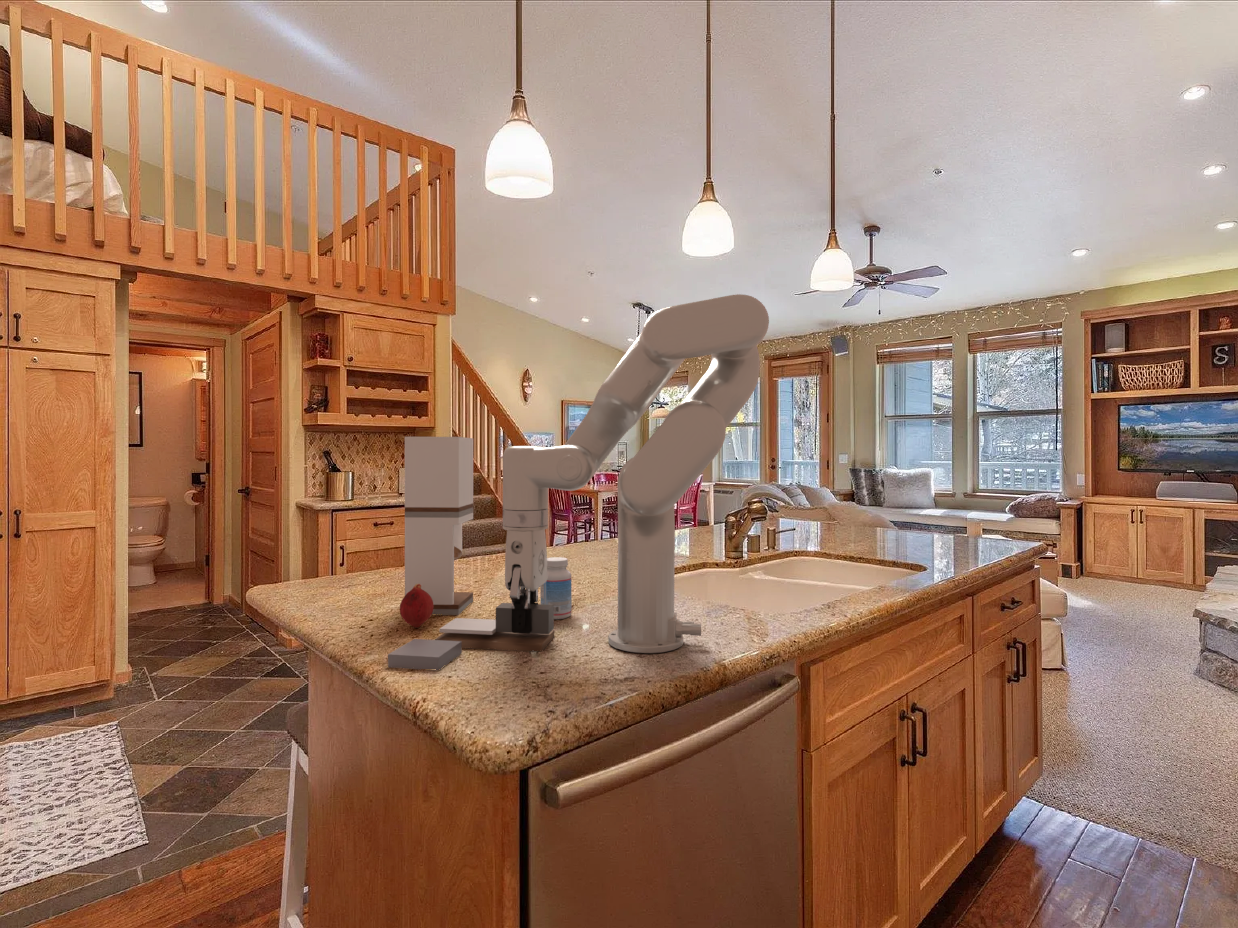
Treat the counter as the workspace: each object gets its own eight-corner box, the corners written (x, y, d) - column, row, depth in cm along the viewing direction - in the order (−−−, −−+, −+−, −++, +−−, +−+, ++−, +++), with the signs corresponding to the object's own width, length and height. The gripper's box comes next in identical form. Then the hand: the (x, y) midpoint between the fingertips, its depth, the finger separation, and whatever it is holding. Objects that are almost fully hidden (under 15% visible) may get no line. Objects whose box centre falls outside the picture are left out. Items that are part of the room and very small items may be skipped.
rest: (554, 636, 110) (554, 629, 110) (541, 651, 101) (541, 644, 101) (455, 632, 112) (455, 625, 112) (434, 646, 104) (434, 639, 104)
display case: (458, 615, 124) (458, 436, 124) (404, 614, 124) (404, 436, 124) (473, 601, 136) (473, 438, 135) (423, 601, 136) (423, 438, 135)
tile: (461, 641, 100) (438, 657, 92) (461, 655, 100) (438, 672, 92) (414, 638, 102) (388, 654, 94) (414, 653, 102) (388, 669, 94)
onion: (423, 633, 111) (423, 587, 111) (393, 631, 113) (393, 586, 112) (439, 624, 117) (439, 581, 117) (410, 622, 118) (410, 580, 118)
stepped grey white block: (556, 625, 109) (556, 602, 109) (545, 637, 102) (546, 612, 102) (455, 621, 111) (456, 598, 111) (439, 632, 104) (439, 608, 104)
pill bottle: (577, 615, 125) (577, 558, 124) (558, 621, 119) (558, 562, 119) (553, 610, 128) (553, 555, 128) (533, 617, 123) (533, 559, 123)
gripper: (534, 525, 97) (533, 644, 97) (558, 515, 113) (558, 617, 114) (487, 524, 98) (486, 642, 98) (518, 514, 114) (517, 616, 115)
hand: (525, 628), depth 106 cm, fingers closed on stepped grey white block, 3 cm apart
